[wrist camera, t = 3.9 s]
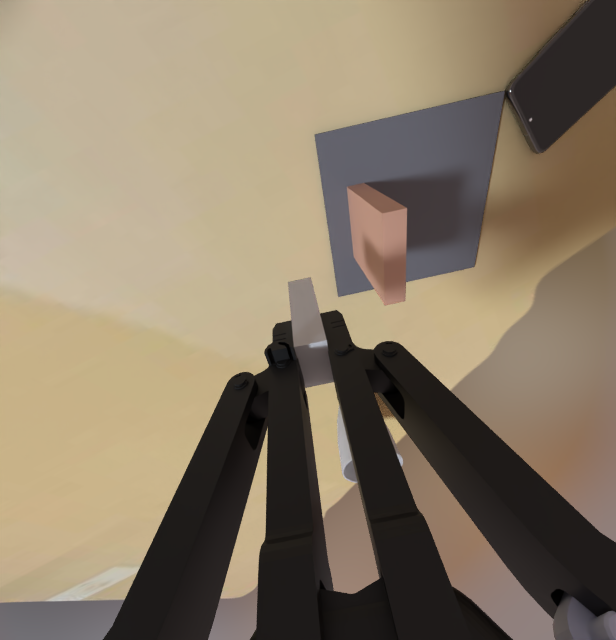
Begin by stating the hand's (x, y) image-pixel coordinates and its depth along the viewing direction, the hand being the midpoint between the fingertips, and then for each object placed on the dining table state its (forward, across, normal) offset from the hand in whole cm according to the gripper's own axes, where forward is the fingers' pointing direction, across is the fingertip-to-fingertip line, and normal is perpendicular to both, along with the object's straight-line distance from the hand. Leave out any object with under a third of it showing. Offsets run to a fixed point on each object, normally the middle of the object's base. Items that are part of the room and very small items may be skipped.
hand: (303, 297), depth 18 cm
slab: (+12, +7, 0) cm, 13 cm away
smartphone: (+13, +28, +10) cm, 33 cm away
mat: (+12, +12, 0) cm, 17 cm away
